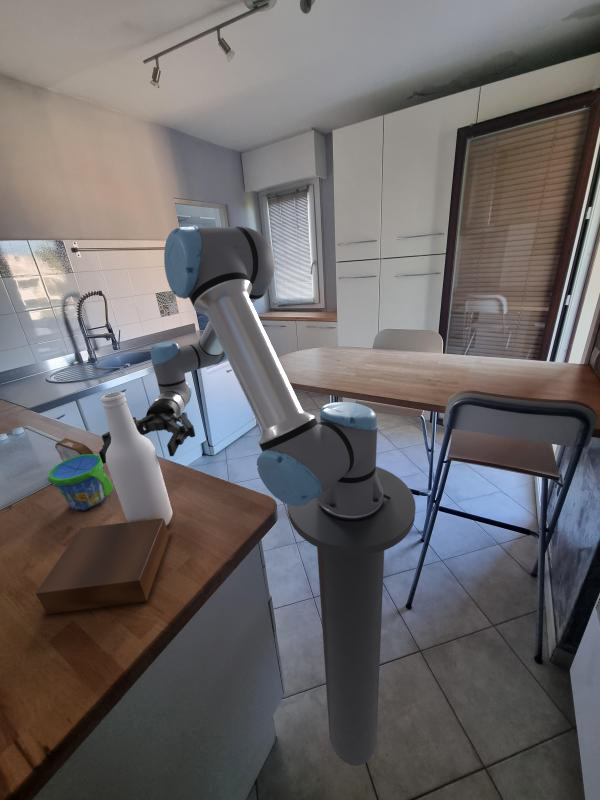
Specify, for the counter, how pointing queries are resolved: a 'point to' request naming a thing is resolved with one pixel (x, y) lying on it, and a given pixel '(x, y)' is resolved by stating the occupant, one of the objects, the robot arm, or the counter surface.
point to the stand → (106, 567)
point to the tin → (71, 449)
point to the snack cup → (81, 481)
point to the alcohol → (134, 465)
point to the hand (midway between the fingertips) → (136, 454)
